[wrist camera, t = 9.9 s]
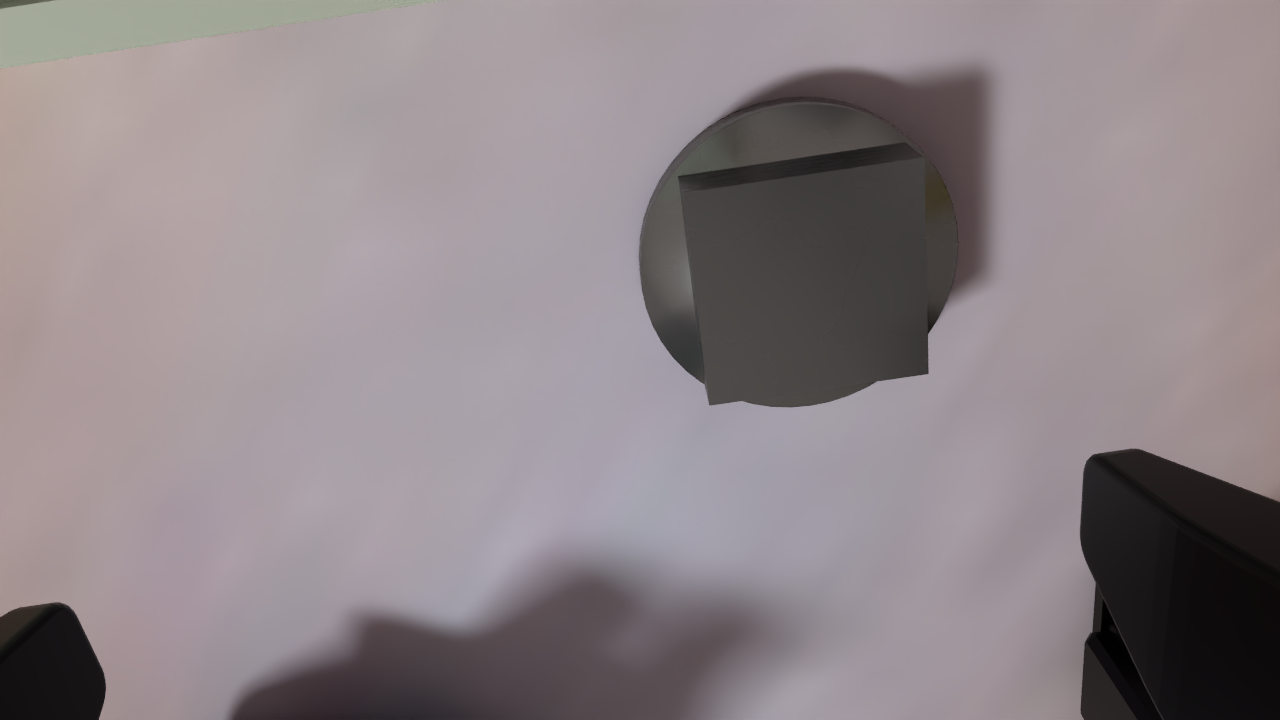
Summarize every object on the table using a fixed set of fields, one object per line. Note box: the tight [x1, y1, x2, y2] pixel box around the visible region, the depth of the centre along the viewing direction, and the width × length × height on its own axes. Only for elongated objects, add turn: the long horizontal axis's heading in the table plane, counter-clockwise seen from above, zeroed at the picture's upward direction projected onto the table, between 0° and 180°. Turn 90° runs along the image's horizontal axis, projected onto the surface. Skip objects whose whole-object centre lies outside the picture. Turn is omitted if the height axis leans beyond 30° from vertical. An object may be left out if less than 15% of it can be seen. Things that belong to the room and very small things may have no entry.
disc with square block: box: [639, 97, 958, 407], centre depth 20 cm, size 6×6×2 cm
